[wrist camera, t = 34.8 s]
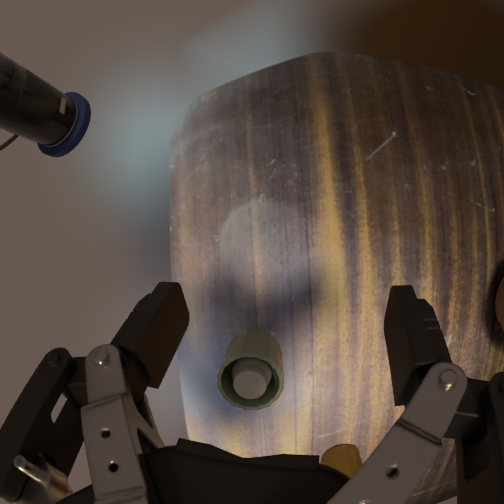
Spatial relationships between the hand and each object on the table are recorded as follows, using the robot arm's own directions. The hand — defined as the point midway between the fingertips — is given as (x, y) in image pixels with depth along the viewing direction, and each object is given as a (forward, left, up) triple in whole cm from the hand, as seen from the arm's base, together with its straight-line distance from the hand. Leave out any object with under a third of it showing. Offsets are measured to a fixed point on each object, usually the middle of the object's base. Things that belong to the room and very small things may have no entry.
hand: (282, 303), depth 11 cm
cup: (-3, -12, -25) cm, 28 cm away
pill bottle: (-3, -12, -25) cm, 28 cm away
